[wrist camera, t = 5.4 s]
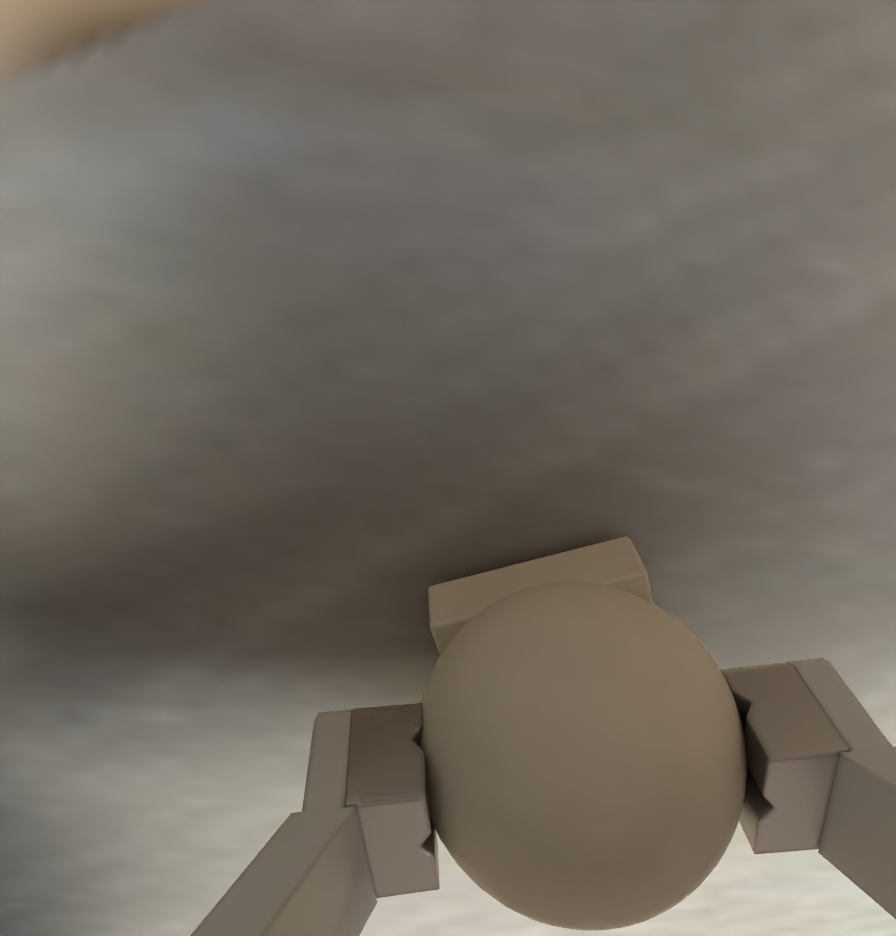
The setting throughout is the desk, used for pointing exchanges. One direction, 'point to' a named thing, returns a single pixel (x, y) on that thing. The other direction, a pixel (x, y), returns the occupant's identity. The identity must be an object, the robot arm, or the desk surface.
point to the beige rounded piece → (578, 740)
